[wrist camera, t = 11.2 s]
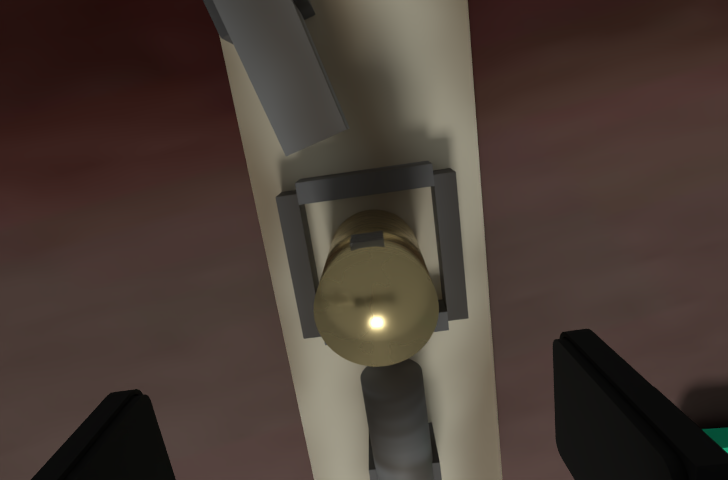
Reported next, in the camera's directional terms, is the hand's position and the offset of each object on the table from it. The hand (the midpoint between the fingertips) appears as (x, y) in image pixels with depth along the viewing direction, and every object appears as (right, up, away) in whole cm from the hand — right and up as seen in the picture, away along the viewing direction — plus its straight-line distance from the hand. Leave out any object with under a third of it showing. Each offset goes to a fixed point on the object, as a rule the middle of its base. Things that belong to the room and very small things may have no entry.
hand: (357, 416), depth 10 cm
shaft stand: (+1, +4, +14) cm, 15 cm away
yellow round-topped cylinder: (+1, +3, +12) cm, 13 cm away
